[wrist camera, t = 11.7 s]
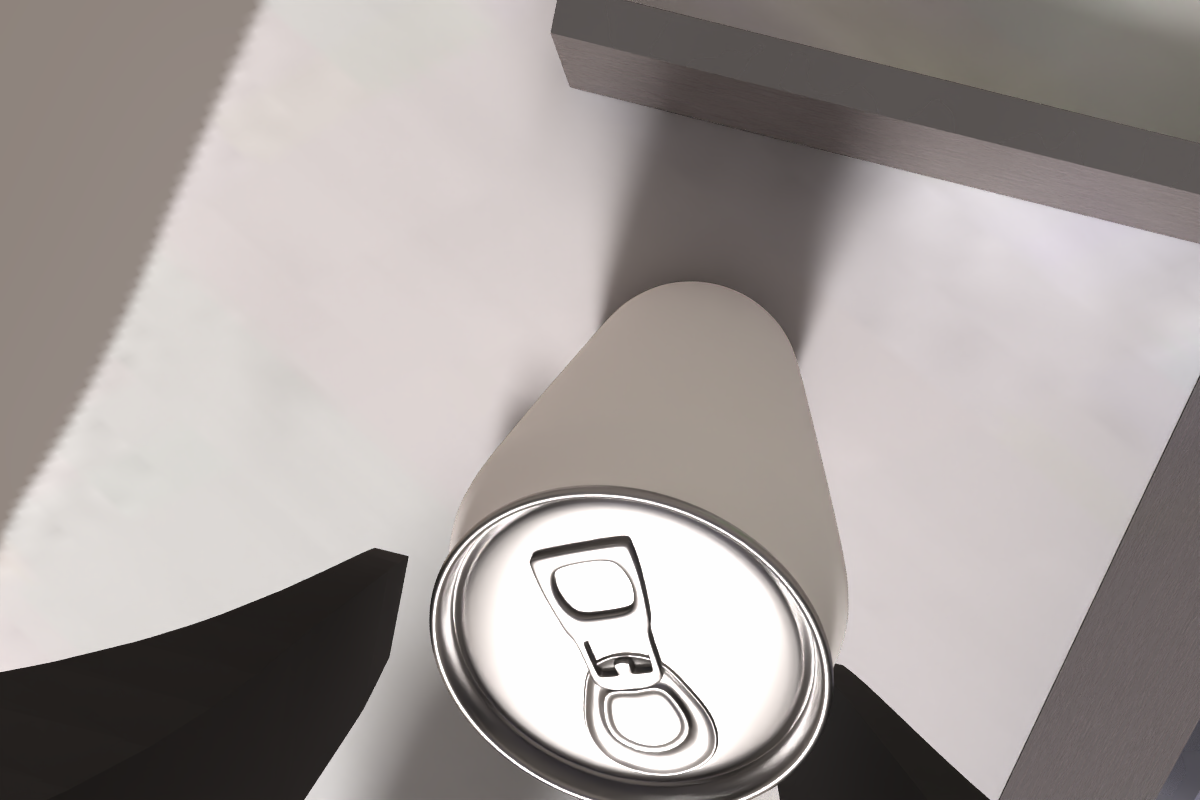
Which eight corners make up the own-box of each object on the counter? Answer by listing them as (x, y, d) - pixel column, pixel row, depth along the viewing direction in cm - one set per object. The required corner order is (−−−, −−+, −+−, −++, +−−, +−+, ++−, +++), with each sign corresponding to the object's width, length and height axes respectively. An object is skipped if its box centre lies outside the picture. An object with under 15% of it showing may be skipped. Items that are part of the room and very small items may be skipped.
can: (626, 490, 21) (498, 840, 10) (561, 312, 20) (326, 510, 9) (820, 451, 19) (914, 833, 8) (769, 248, 18) (804, 401, 7)
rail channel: (1305, 232, 18) (1518, 223, 14) (976, 906, 24) (1053, 1050, 20) (577, 51, 18) (560, -17, 14) (425, 772, 24) (379, 886, 20)
